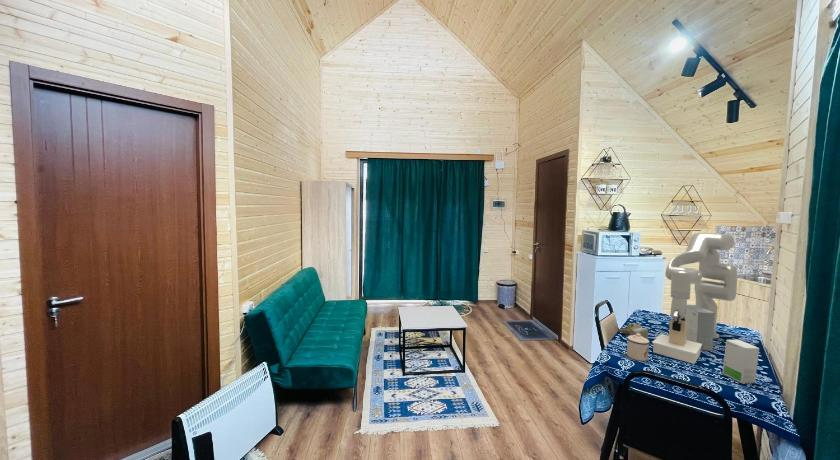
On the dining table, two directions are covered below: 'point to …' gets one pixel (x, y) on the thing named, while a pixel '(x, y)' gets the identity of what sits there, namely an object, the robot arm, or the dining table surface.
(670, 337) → the kraft carton
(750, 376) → the skincare box
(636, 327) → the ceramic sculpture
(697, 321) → the hard drive box
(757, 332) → the dining table surface
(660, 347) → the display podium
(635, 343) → the teacup with lid
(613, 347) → the dining table surface
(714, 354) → the dining table surface
